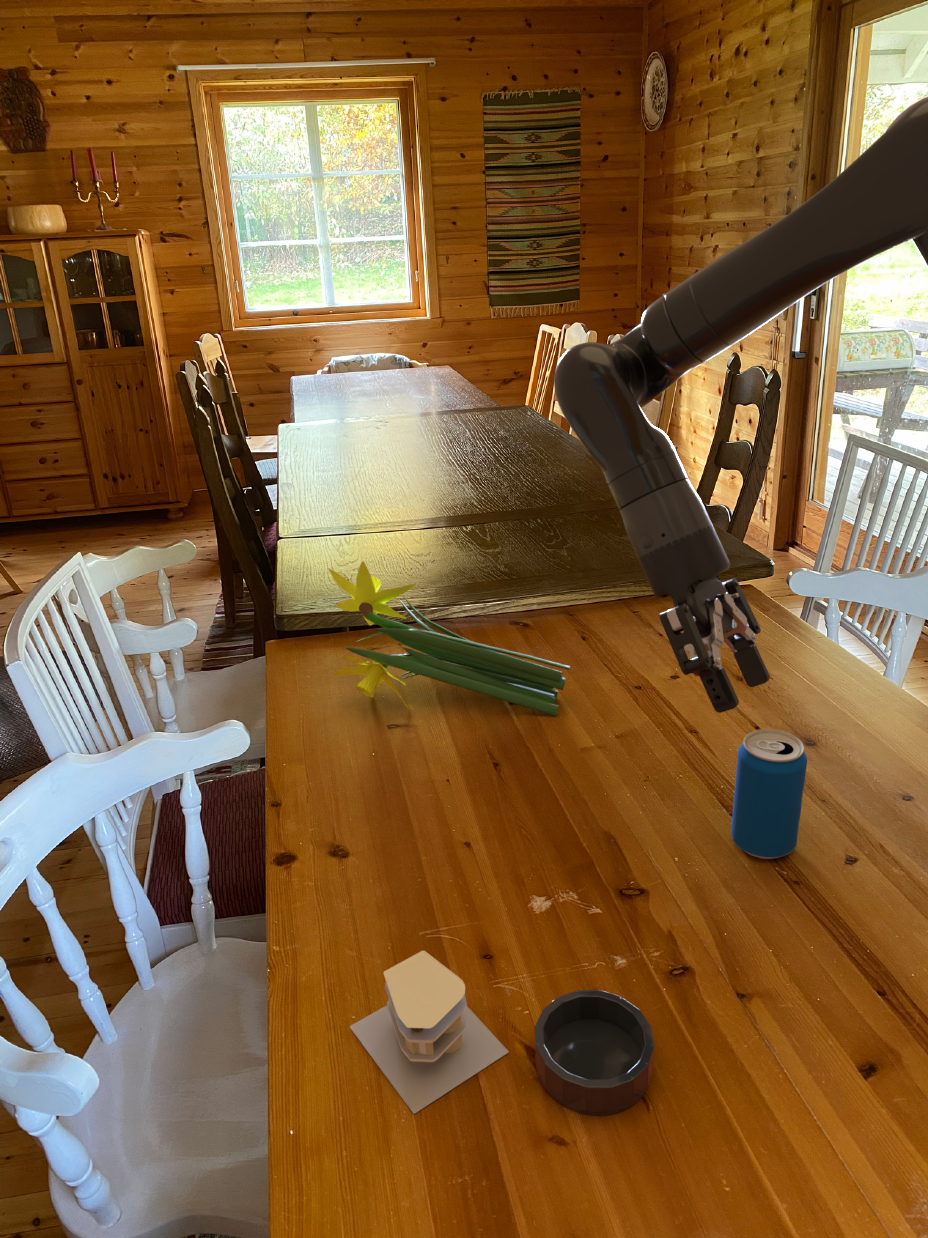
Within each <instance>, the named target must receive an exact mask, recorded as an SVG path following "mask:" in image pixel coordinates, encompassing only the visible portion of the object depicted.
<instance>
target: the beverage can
mask: <svg viewBox="0 0 928 1238" xmlns="http://www.w3.org/2000/svg"><path fill="white" fill-rule="evenodd" d="M807 765H808V757H807V753H806V751H805V746H804V744H803V742H802V741H801V740H800V739H799V738H798V737H797V736H795V735H793V734H791V733H789V732H786V731H783V730H780V729H769V728H765V729H764V728H762V729H756V730H754V731H751V732H749V733H747V734H746V735H745V737H743V742H742V743H741V744H740V745H739V748H738V750H737V758H736V769H735V770H736V771H735V781H734V794H733V804H732V814H731V815H732V816H731V825H730V826H731V827H730V828H731V829H730V838H731V840H732V841H733V843H734V844H735V845H736V846H737V847H738V848H739V849H740V850H742V851H743V852H745V853H746V854H748V855H749V856H751V857H754V858H758V859H764V860H773V859H778V858H782V857H785V856H787V855H789V854H791V853H792V852H793V851H795V849H796V847H797V843H798V837H799V829H800V821H801V813H802V805H803V796H804V791H805V782H806V774H807V767H808V766H807Z"/></svg>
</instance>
